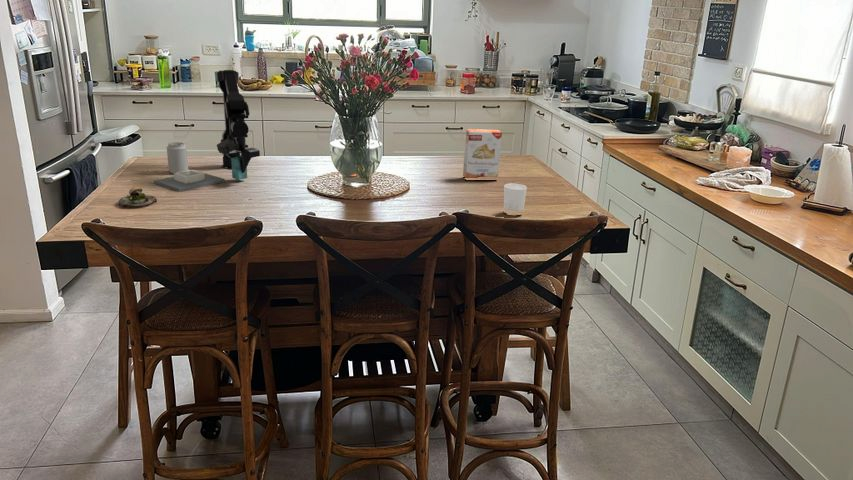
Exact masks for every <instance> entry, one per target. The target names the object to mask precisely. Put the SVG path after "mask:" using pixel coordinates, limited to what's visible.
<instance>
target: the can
mask: <svg viewBox="0 0 853 480" xmlns="http://www.w3.org/2000/svg"><path fill="white" fill-rule="evenodd" d="M166 153H167V154H166V155H167V166H168V172H169V173H171V174H173V175H174V173H176V172H182V171H187V170H189V162H188V161H189V160H188V149H187V145H185V143H184V142H183V141H182V142H179V141H175V142H168V144H167V146H166Z"/></svg>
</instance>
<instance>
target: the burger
mask: <svg viewBox="0 0 853 480" xmlns="http://www.w3.org/2000/svg"><path fill="white" fill-rule="evenodd" d="M132 184H133V187H131V188H130V189H129V191H128V193H129V194H127V195H126V196H124V197H121V198H120V199H118V202H119V204H118V206H119V207H121V208H122V209H123V208H124V206H127V207H142V206H148V205H150V204H152V203H153V202H155V203H157V199H158V198H157V197H155V196H153V195H147V194H145V193H144V192H143V188H142V187H140V186H135V185H134V183H132Z"/></svg>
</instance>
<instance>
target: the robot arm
mask: <svg viewBox="0 0 853 480" xmlns="http://www.w3.org/2000/svg"><path fill="white" fill-rule="evenodd" d="M239 75H240V74H239V72H238V71H237V70H234V69H224V70H218V71H216V73H215V81H216V83H217V84H218V88H219V90H221V92H222V97H223V98H222V99H223V113H224V125H225V126H224V127H225V129H224V131H223V132H222V134H221V139H220V142H219V143H217V144H216V147H217V151H218V153H219V154H221V155H222V165H221V168H225V169H228V170H232V162H231V158H233V157H237V158H238V159H239V160H240V165H241V171H242V173H244V172H245V170H246V168H247V169H248V165H249V164H250V161H251V159H252V158H253V159H254V158H258V157H260V156H261V152H260V149H258V148H255V147H249V145H248V144H246V143H247V141H246V138H248V137H249V136H248V135H249V126H248V124H247V123H246V121H245V119H250V118H249V116H250V108H249V104H248V102H247V101H245V98H244V95H242V94H241V93H240V91H239V86H238V83H239V82H240V76H239Z"/></svg>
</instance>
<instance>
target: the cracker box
mask: <svg viewBox="0 0 853 480" xmlns="http://www.w3.org/2000/svg"><path fill="white" fill-rule="evenodd" d="M502 135H503V134H502V131H501V130H499V129H481V128H479V129H477V128H475V129H474V128H466V129H465V141H464V142H465V144H464V155H463V157H464V158H463V170H462V171H463V172H462V177H463V176H464V177H465V178H478V177H498V178H499V166H500V156H501V149H502V148H501V147H502V146H501V145H502Z"/></svg>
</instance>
